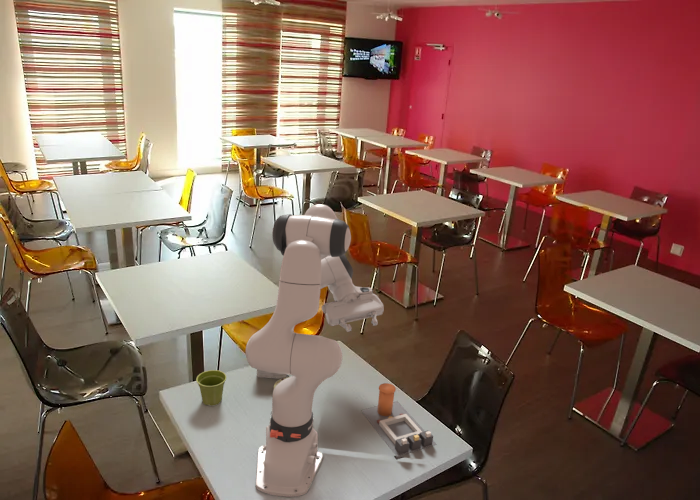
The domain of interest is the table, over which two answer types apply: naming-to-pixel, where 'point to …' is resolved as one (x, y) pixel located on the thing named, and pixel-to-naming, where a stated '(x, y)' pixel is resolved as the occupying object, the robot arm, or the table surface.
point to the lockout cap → (386, 399)
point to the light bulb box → (270, 375)
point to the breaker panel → (399, 430)
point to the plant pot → (211, 386)
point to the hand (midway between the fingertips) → (362, 327)
